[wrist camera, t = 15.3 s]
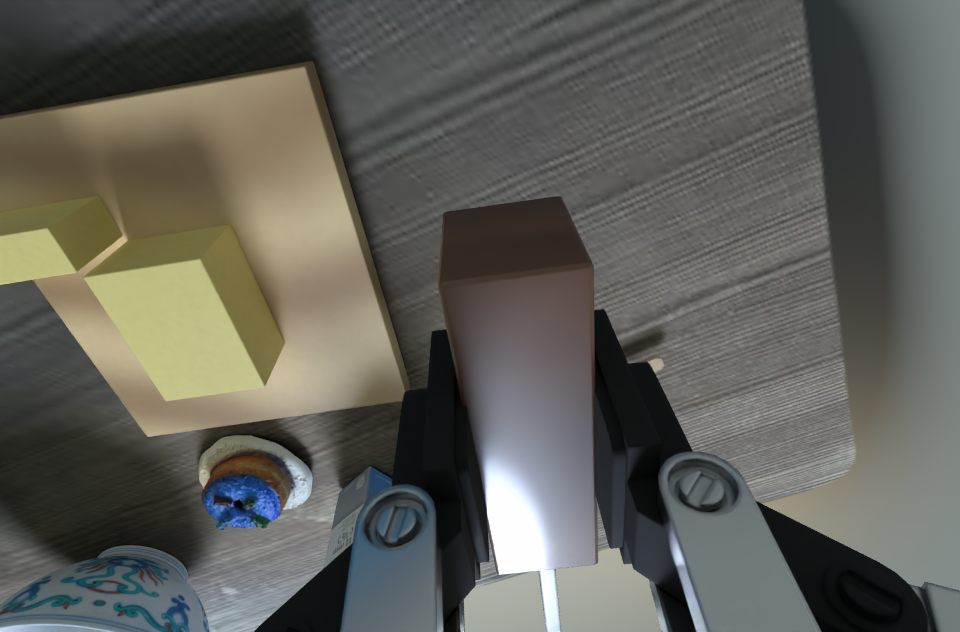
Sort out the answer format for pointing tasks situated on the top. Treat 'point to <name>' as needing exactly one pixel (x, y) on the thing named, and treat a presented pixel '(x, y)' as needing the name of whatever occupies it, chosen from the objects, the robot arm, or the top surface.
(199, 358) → the butter block
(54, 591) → the chinaware
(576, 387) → the knife
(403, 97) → the top surface
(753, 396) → the top surface
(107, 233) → the butter slice
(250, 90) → the cutting board
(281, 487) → the dessert
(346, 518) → the label tape box
